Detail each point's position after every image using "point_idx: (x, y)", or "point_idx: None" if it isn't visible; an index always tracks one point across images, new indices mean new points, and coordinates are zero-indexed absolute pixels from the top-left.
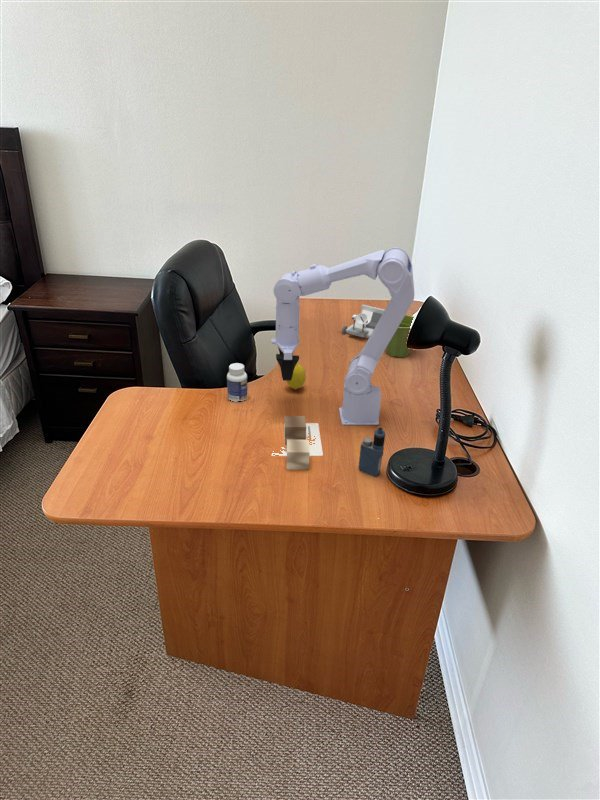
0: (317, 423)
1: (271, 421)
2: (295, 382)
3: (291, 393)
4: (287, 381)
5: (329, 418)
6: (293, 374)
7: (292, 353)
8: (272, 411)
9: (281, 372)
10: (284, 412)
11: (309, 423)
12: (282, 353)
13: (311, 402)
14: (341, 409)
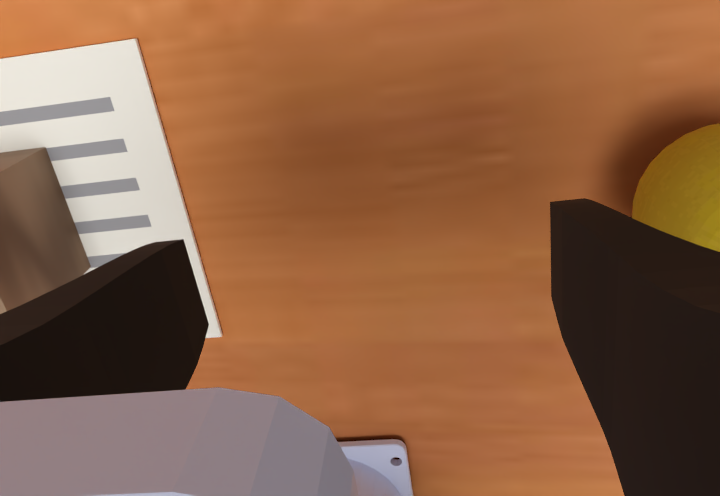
0: (216, 333)
1: (171, 36)
2: (638, 220)
3: (615, 149)
4: (688, 140)
5: (295, 389)
6: (684, 232)
7: (615, 463)
8: (315, 25)
9: (63, 286)
10: (316, 121)
11: (204, 291)
12: (624, 309)
13: (479, 292)
14: (383, 455)
